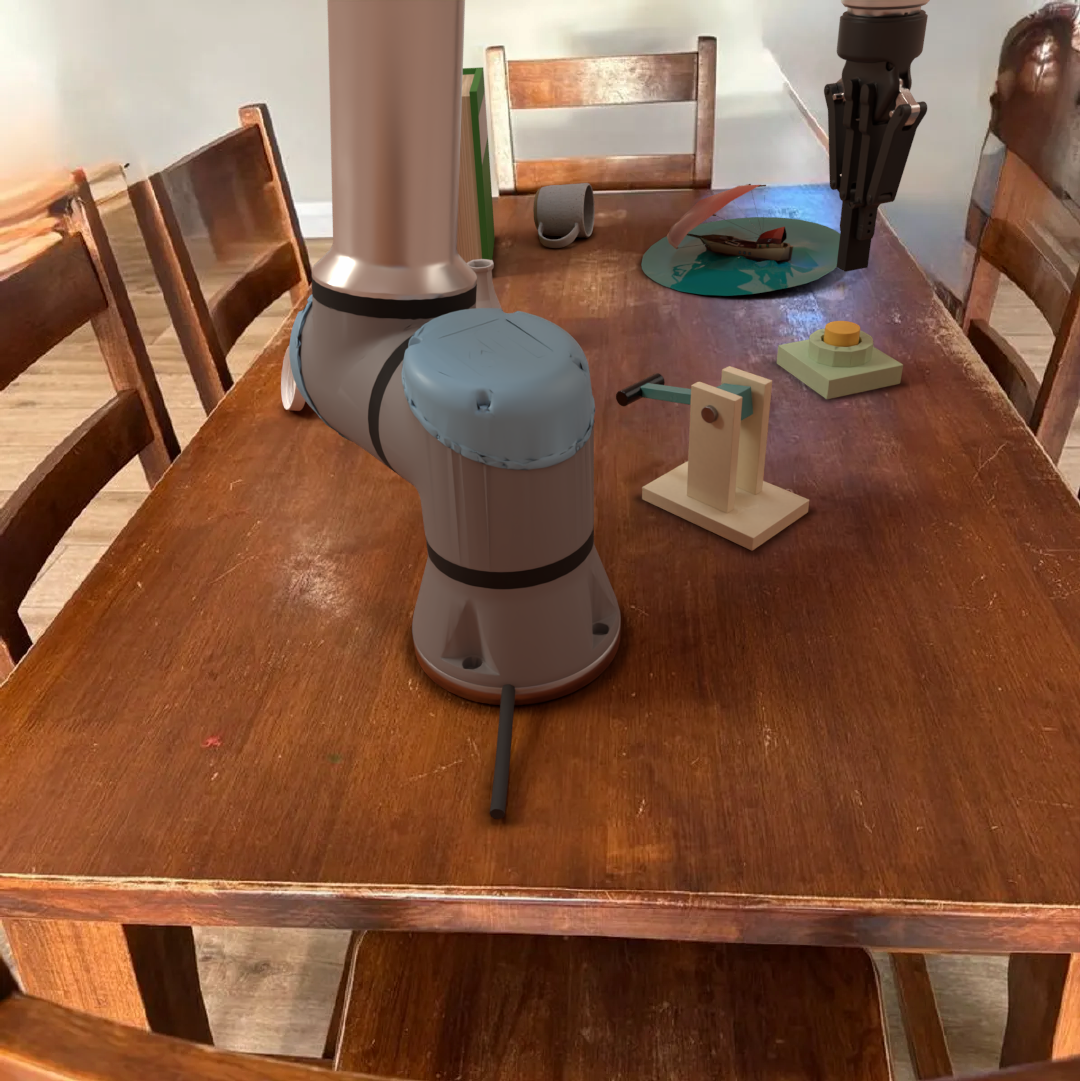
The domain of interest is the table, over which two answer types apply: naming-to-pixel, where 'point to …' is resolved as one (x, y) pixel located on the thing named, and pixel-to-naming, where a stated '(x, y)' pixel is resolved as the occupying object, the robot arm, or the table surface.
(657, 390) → the lever
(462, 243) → the hardback book
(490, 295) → the flask
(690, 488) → the wooden stand
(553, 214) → the ceramic mug
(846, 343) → the button
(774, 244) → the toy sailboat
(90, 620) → the table surface
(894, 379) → the button box
